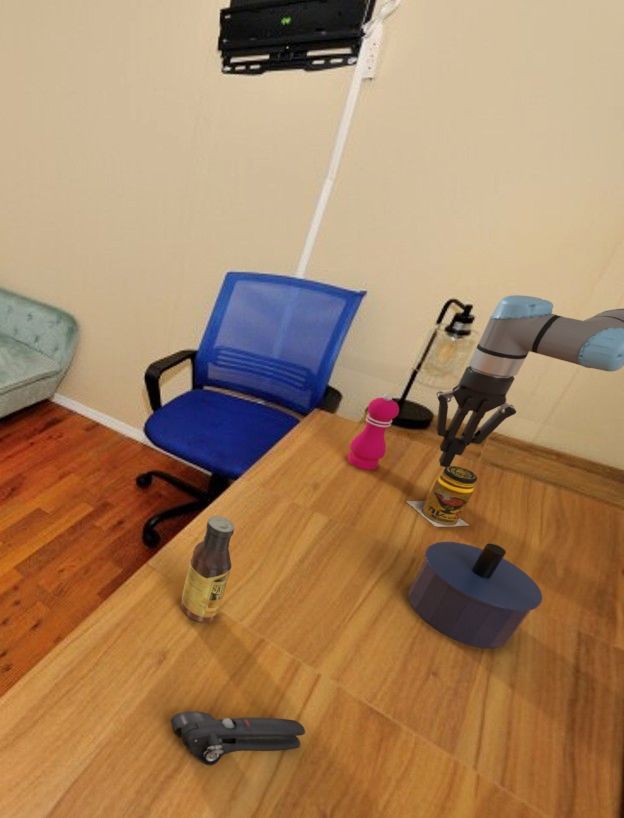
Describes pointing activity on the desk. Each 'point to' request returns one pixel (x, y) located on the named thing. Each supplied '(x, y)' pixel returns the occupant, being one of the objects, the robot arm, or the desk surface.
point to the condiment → (448, 497)
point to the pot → (461, 613)
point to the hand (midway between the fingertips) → (443, 463)
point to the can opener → (233, 734)
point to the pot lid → (483, 575)
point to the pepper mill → (373, 433)
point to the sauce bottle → (208, 572)
